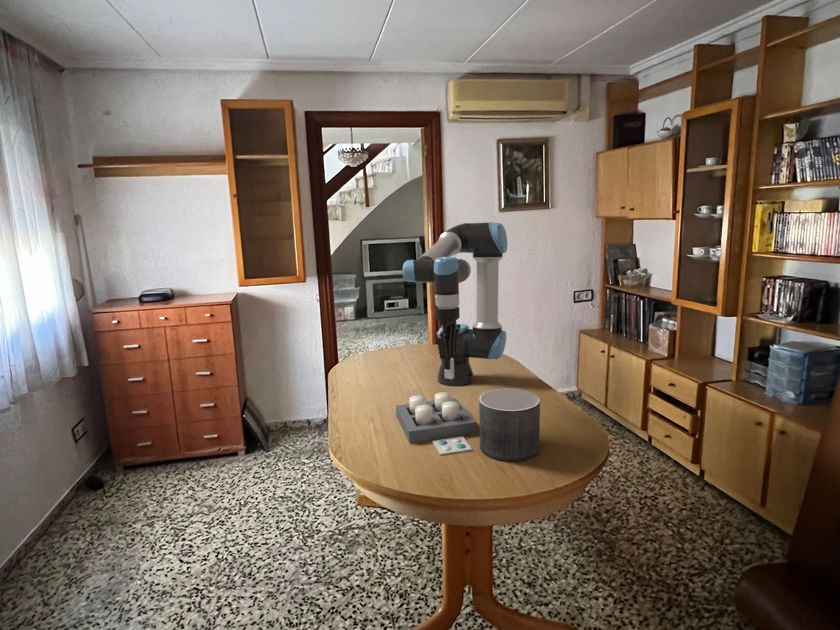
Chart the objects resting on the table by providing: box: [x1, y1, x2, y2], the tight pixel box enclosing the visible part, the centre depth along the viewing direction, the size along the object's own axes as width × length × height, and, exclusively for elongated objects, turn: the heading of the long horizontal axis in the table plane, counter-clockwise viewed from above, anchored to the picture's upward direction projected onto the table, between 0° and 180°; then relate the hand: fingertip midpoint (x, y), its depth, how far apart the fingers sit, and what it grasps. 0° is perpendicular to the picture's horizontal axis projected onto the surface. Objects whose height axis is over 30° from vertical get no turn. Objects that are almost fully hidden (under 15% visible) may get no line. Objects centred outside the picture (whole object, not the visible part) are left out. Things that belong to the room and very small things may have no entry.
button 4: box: [442, 401, 459, 422], centre depth 171 cm, size 6×6×6 cm
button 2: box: [415, 405, 433, 426], centre depth 169 cm, size 6×6×6 cm
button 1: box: [408, 394, 427, 415], centre depth 177 cm, size 6×6×6 cm
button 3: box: [434, 391, 452, 412], centre depth 179 cm, size 6×6×6 cm
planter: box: [478, 387, 541, 462], centre depth 155 cm, size 18×18×16 cm
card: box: [431, 435, 473, 456], centre depth 159 cm, size 10×9×1 cm
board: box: [395, 397, 477, 444], centre depth 175 cm, size 22×22×4 cm
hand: (449, 377), depth 168 cm, fingers closed
